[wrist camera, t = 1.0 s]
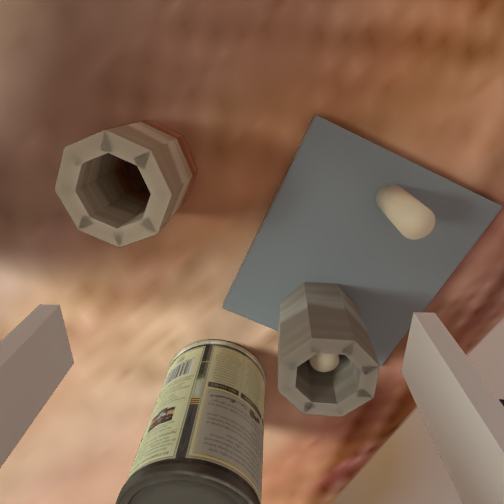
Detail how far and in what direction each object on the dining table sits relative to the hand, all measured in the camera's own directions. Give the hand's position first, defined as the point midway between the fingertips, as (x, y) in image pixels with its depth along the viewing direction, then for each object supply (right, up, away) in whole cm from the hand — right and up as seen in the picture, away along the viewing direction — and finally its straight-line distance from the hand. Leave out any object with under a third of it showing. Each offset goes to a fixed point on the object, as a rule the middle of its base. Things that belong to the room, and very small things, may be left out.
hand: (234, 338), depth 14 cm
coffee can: (-3, -10, +25) cm, 27 cm away
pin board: (+9, +3, +18) cm, 20 cm away
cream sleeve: (-7, +10, +16) cm, 20 cm away
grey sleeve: (+6, -3, +19) cm, 21 cm away
